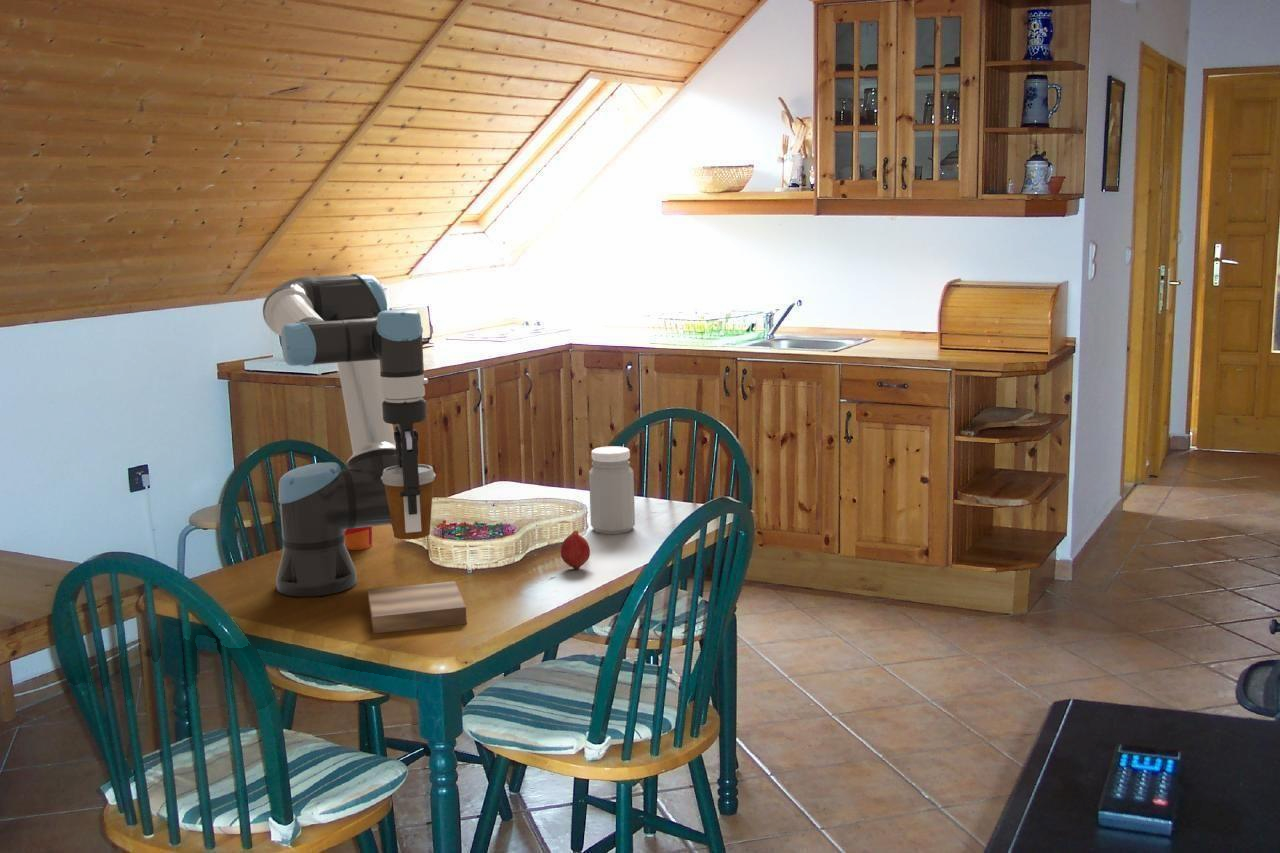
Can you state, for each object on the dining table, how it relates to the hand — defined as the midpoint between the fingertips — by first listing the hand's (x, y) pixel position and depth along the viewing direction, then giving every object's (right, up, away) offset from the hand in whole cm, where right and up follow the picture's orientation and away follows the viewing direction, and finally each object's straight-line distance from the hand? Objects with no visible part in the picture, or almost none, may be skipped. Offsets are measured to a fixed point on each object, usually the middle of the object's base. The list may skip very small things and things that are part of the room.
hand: (411, 525), depth 231 cm
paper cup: (-20, -8, +49) cm, 53 cm away
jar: (+35, -5, +57) cm, 67 cm away
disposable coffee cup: (0, -2, 0) cm, 2 cm away
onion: (+28, -11, +28) cm, 41 cm away
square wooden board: (0, -16, +3) cm, 16 cm away
